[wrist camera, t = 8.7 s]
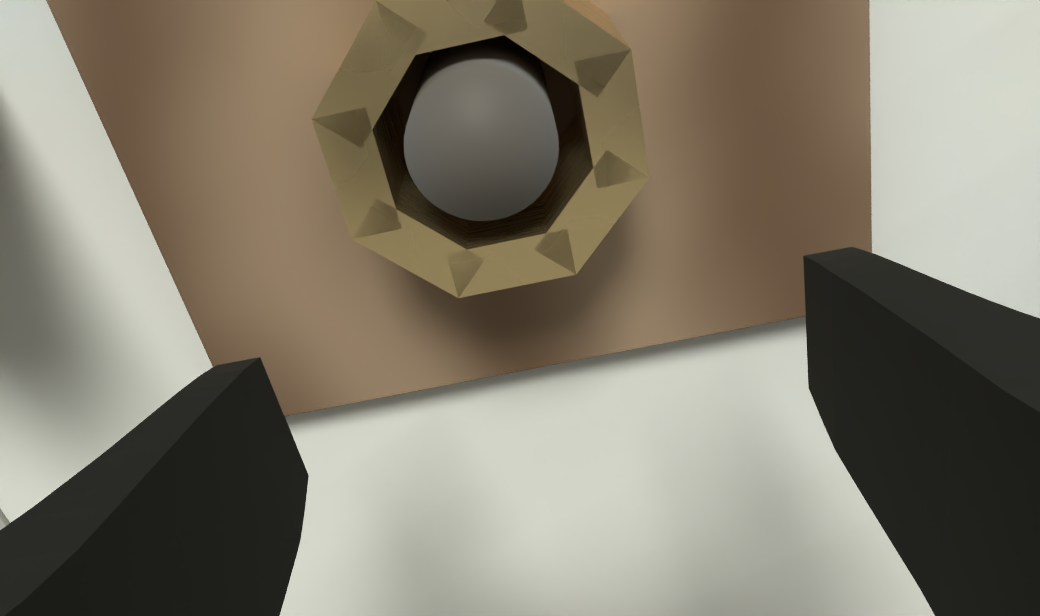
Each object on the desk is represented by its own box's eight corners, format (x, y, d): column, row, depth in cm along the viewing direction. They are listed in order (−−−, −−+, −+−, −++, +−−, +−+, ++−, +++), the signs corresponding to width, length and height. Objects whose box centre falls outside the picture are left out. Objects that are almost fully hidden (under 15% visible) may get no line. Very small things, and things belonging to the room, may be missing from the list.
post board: (842, -417, 15) (990, -530, 10) (856, 284, 21) (950, 398, 17) (-16, -199, 16) (-209, -217, 12) (248, 402, 23) (190, 536, 18)
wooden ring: (593, -73, 16) (616, -55, 13) (633, 191, 19) (660, 257, 16) (318, -10, 17) (279, 22, 14) (394, 240, 19) (376, 314, 16)
